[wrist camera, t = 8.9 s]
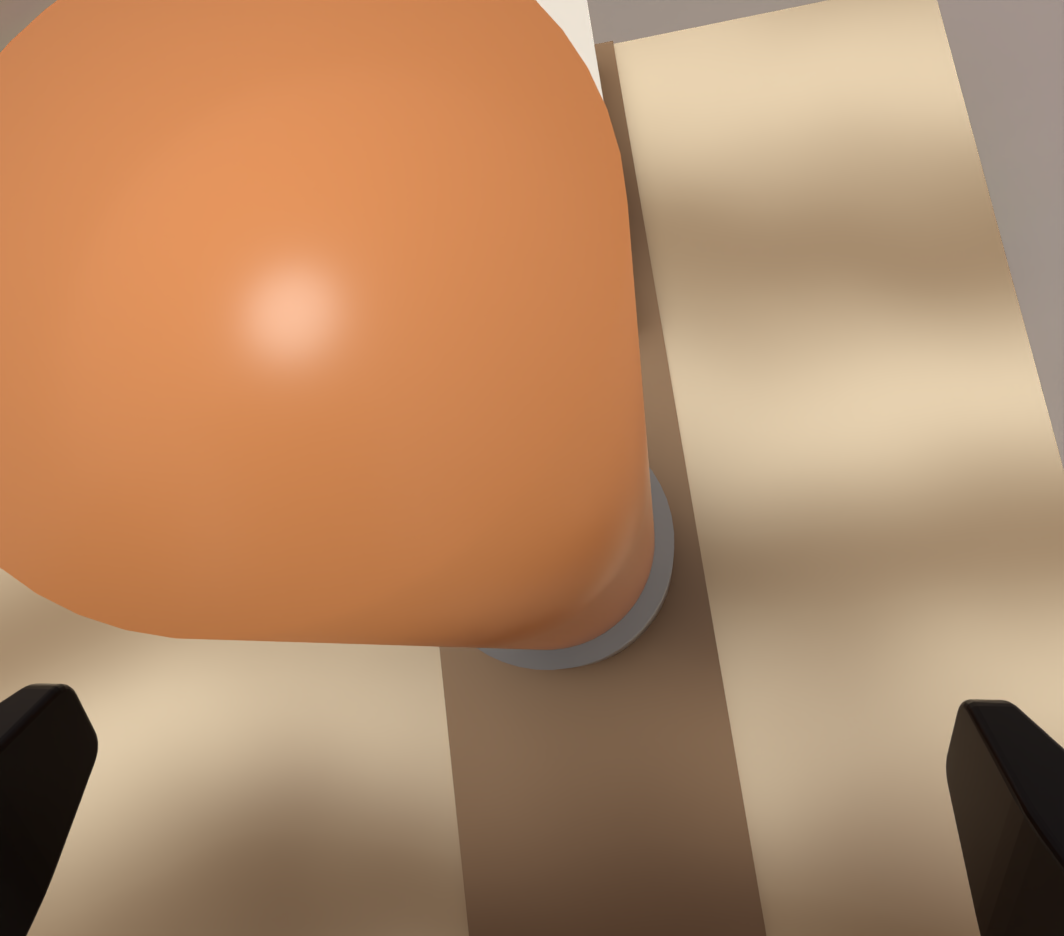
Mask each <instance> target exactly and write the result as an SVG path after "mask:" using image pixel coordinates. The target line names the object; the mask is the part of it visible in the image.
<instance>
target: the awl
mask: <svg viewBox="0 0 1064 936" xmlns="http://www.w3.org/2000/svg"><path fill="white" fill-rule="evenodd" d="M673 557H674V529H673V522H672V515H671V512H670V508H669V505H668V501H667V498H666V496H665V494H664V491H663V489H662V487H661V485H660V483H659V481H658V480H657V478H656V476H655V475H654V473H653V471H652V470H651V469H650V467H649V459H648V447H647V435H646V423H645V410H644V398H643V386H642V373H641V361H640V349H639V337H638V324H637V312H636V300H635V288H634V275H633V263H632V251H631V239H630V226H629V214H628V202H627V195H626V188H625V181H624V174H623V167H622V160H621V154H620V150H619V147H618V144H617V140H616V137H615V134H614V130H613V127H612V123H611V120H610V117H609V113H608V110H607V107H606V105H605V103H604V101H603V99H602V97H601V95H600V93H599V90H598V88H597V86H596V84H595V82H594V80H593V78H592V76H591V73H590V71H589V69H588V67H587V66H586V64H585V63H584V61H583V60H582V58H581V57H580V55H579V54H578V52H577V51H576V49H575V48H574V46H573V45H572V43H571V42H570V40H569V39H568V37H567V36H566V34H565V33H564V31H563V30H562V29H561V28H560V26H559V25H558V24H557V23H556V22H555V21H554V20H553V19H552V18H551V17H550V15H549V14H548V13H547V12H546V11H545V10H544V9H543V8H542V7H541V6H540V4H539V3H538V2H537V1H536V0H57V1H56V2H55V3H53V4H52V5H51V6H49V7H48V8H47V9H45V10H44V11H43V12H42V13H41V14H40V15H39V16H38V17H36V18H35V19H34V20H33V21H32V22H31V23H30V24H29V25H28V26H27V27H26V28H25V29H23V30H22V31H21V32H20V33H19V34H18V35H17V36H16V37H15V38H14V39H13V40H11V41H10V43H9V44H8V45H7V46H6V47H5V48H4V49H3V50H2V52H1V53H0V568H1V569H3V570H4V571H6V572H7V573H8V574H10V575H11V576H13V577H14V578H15V579H17V580H18V581H20V582H21V583H22V584H24V585H25V586H27V587H28V588H29V589H31V590H32V591H34V592H35V593H36V594H38V595H40V596H42V597H44V598H46V599H48V600H50V601H52V602H54V603H56V604H58V605H60V606H62V607H64V608H66V609H68V610H70V611H72V612H74V613H76V614H78V615H81V616H84V617H87V618H90V619H93V620H96V621H99V622H102V623H105V624H108V625H111V626H114V627H118V628H121V629H124V630H128V631H134V632H140V633H146V634H152V635H158V636H164V637H170V638H177V639H209V640H242V641H274V642H306V643H338V644H370V645H402V646H434V647H467V648H477V649H479V650H480V651H482V652H484V653H485V654H487V655H489V656H491V657H493V658H495V659H497V660H500V661H502V662H504V663H508V664H511V665H514V666H518V667H523V668H529V669H535V670H556V669H566V668H573V667H580V666H585V665H589V664H593V663H597V662H600V661H602V660H605V659H607V658H610V657H612V656H614V655H616V654H617V653H619V652H621V651H623V650H624V649H626V648H627V647H628V646H630V645H631V644H632V643H633V642H635V641H636V640H637V639H638V638H639V637H640V636H641V635H642V634H643V633H644V632H645V631H646V630H647V628H648V627H649V626H650V625H651V623H652V622H653V621H654V619H655V618H656V616H657V614H658V612H659V611H660V609H661V607H662V605H663V602H664V600H665V598H666V595H667V592H668V589H669V585H670V581H671V575H672V567H673Z"/></svg>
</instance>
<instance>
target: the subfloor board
mask: <svg viewBox="0 0 1064 936" xmlns="http://www.w3.org/2000/svg"><path fill="white" fill-rule="evenodd" d="M594 47H595V53H596V59H597V65H598V71H599V77H600V83H601V89H602V95H603V101H604V103H605V105H606V107H607V110H608V113H609V117H610V120H611V123H612V127H613V130H614V134H615V137H616V140H617V144H618V147H619V150H620V154H621V160H622V167H623V174H624V181H625V188H626V195H627V202H628V214H629V226H630V239H631V251H632V263H633V275H634V288H635V300H636V312H637V324H638V337H639V349H640V361H641V373H642V386H643V398H644V410H645V423H646V435H647V447H648V459H649V467H650V469H651V470H652V471H653V473H654V475H655V476H656V478H657V480H658V481H659V483H660V485H661V487H662V489H663V491H664V494H665V496H666V498H667V501H668V505H669V508H670V512H671V515H672V522H673V529H674V557H673V567H672V575H671V581H670V585H669V589H668V592H667V595H666V598H665V600H664V602H663V605H662V607H661V609H660V611H659V612H658V614H657V616H656V618H655V619H654V621H653V622H652V623H651V625H650V626H649V627H648V628H647V630H646V631H645V632H644V633H643V634H642V635H641V636H640V637H639V638H638V639H637V640H636V641H635V642H633V643H632V644H631V645H630V646H628V647H627V648H626V649H624V650H623V651H621V652H619V653H617V654H616V655H614V656H612V657H610V658H607V659H605V660H602V661H600V662H597V663H593V664H589V665H585V666H580V667H573V668H566V669H556V670H535V669H529V668H523V667H518V666H514V665H511V664H508V663H504V662H502V661H500V660H497V659H495V658H493V657H491V656H489V655H487V654H485V653H484V652H482V651H480V650H479V649H477V648H467V647H434V646H402V645H370V644H338V643H306V642H274V641H242V640H209V639H177V638H170V637H164V636H158V635H152V634H146V633H140V632H134V631H128V630H124V629H121V628H118V627H114V626H111V625H108V624H105V623H102V622H99V621H96V620H93V619H90V618H87V617H84V616H81V615H78V614H76V613H74V612H72V611H70V610H68V609H66V608H64V607H62V606H60V605H58V604H56V603H54V602H52V601H50V600H48V599H46V598H44V597H42V596H40V595H38V594H36V593H35V592H34V591H32V590H31V589H29V588H28V587H27V586H25V585H24V584H22V583H21V582H20V581H18V580H17V579H15V578H14V577H13V576H11V575H10V574H8V573H7V572H6V571H4V570H3V569H1V568H0V702H2V701H3V700H5V699H6V698H8V697H9V696H11V695H12V694H14V693H15V692H17V691H18V690H20V689H22V688H23V687H25V686H27V685H30V684H35V683H49V684H66V685H68V686H70V687H71V688H73V689H74V691H75V692H76V694H77V696H78V698H79V700H80V702H81V704H82V706H83V708H84V710H85V712H86V714H87V716H88V718H89V720H90V722H91V724H92V726H93V728H94V730H95V732H96V734H97V738H98V753H97V757H96V761H95V764H94V767H93V769H92V772H91V775H90V777H89V780H88V783H87V786H86V788H85V791H84V794H83V796H82V799H81V802H80V805H79V807H78V810H77V813H76V815H75V818H74V821H73V824H72V826H71V829H70V832H69V834H68V837H67V840H66V843H65V845H64V848H63V851H62V853H61V856H60V859H59V862H58V864H57V867H56V870H55V872H54V875H53V877H52V880H51V882H50V885H49V887H48V890H47V892H46V895H45V897H44V899H43V902H42V904H41V906H40V908H39V910H38V913H37V915H36V917H35V919H34V921H33V923H32V926H31V928H30V930H29V932H28V934H27V936H981V935H980V931H979V927H978V923H977V919H976V914H975V909H974V905H973V900H972V895H971V891H970V886H969V882H968V877H967V872H966V868H965V863H964V858H963V854H962V849H961V844H960V840H959V835H958V830H957V826H956V821H955V816H954V812H953V807H952V802H951V798H950V793H949V789H948V784H947V777H946V757H947V753H948V748H949V744H950V740H951V736H952V732H953V728H954V724H955V719H956V715H957V711H958V708H959V706H960V705H961V703H962V702H963V701H965V700H969V699H985V700H1006V701H1009V702H1011V703H1013V704H1014V705H1016V706H1017V707H1018V708H1019V709H1021V710H1022V711H1023V712H1024V713H1025V714H1026V715H1027V716H1028V717H1029V718H1031V719H1032V720H1033V721H1034V722H1035V723H1036V724H1037V725H1038V726H1039V727H1041V728H1042V729H1043V730H1044V731H1045V732H1046V733H1047V734H1048V735H1049V736H1051V737H1052V738H1053V739H1054V740H1055V741H1056V742H1057V743H1058V744H1059V745H1061V746H1062V747H1063V748H1064V470H1063V466H1062V462H1061V458H1060V455H1059V451H1058V447H1057V444H1056V440H1055V436H1054V433H1053V429H1052V425H1051V421H1050V418H1049V414H1048V410H1047V407H1046V403H1045V399H1044V395H1043V392H1042V388H1041V384H1040V381H1039V377H1038V373H1037V370H1036V366H1035V362H1034V358H1033V355H1032V351H1031V347H1030V344H1029V340H1028V336H1027V332H1026V329H1025V325H1024V321H1023V318H1022V314H1021V310H1020V307H1019V303H1018V299H1017V295H1016V292H1015V288H1014V284H1013V281H1012V277H1011V273H1010V269H1009V266H1008V262H1007V258H1006V255H1005V251H1004V247H1003V243H1002V240H1001V236H1000V232H999V229H998V225H997V221H996V218H995V214H994V210H993V206H992V203H991V199H990V195H989V192H988V188H987V184H986V180H985V177H984V173H983V169H982V166H981V162H980V158H979V155H978V151H977V147H976V143H975V140H974V136H973V132H972V129H971V125H970V121H969V117H968V114H967V110H966V106H965V103H964V99H963V95H962V92H961V88H960V84H959V80H958V77H957V73H956V69H955V66H954V62H953V58H952V54H951V51H950V47H949V43H948V40H947V36H946V32H945V28H944V25H943V21H942V17H941V14H940V10H939V6H938V3H937V0H828V1H823V2H818V3H813V4H808V5H803V6H798V7H793V8H788V9H783V10H778V11H773V12H769V13H764V14H759V15H754V16H749V17H744V18H739V19H734V20H729V21H724V22H719V23H714V24H710V25H705V26H700V27H695V28H690V29H685V30H680V31H675V32H670V33H665V34H660V35H655V36H651V37H646V38H641V39H636V40H631V41H626V42H621V43H616V44H613V41H610V42H605V43H600V44H595V45H594Z"/></svg>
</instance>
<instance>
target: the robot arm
mask: <svg viewBox="0 0 1064 936" xmlns="http://www.w3.org/2000/svg"><path fill="white" fill-rule="evenodd" d="M97 753H98V738H97V734H96V732H95V730H94V728H93V726H92V724H91V722H90V720H89V718H88V716H87V714H86V712H85V710H84V708H83V706H82V704H81V702H80V700H79V698H78V696H77V694H76V692H75V691H74V689H73V688H71V687H70V686H68V685H66V684H49V683H35V684H30V685H27V686H25V687H23V688H22V689H20V690H18V691H17V692H15V693H14V694H12V695H11V696H9V697H8V698H6V699H5V700H3V701H2V702H0V936H27V934H28V932H29V930H30V928H31V926H32V923H33V921H34V919H35V917H36V915H37V913H38V910H39V908H40V906H41V904H42V902H43V899H44V897H45V895H46V892H47V890H48V887H49V885H50V882H51V880H52V877H53V875H54V872H55V870H56V867H57V864H58V862H59V859H60V856H61V853H62V851H63V848H64V845H65V843H66V840H67V837H68V834H69V832H70V829H71V826H72V824H73V821H74V818H75V815H76V813H77V810H78V807H79V805H80V802H81V799H82V796H83V794H84V791H85V788H86V786H87V783H88V780H89V777H90V775H91V772H92V769H93V767H94V764H95V761H96V757H97ZM946 777H947V784H948V789H949V793H950V798H951V802H952V807H953V812H954V816H955V821H956V826H957V830H958V835H959V840H960V844H961V849H962V854H963V858H964V863H965V868H966V872H967V877H968V882H969V886H970V891H971V895H972V900H973V905H974V909H975V914H976V919H977V923H978V927H979V931H980V935H981V936H1064V748H1063V747H1062V746H1061V745H1059V744H1058V743H1057V742H1056V741H1055V740H1054V739H1053V738H1052V737H1051V736H1049V735H1048V734H1047V733H1046V732H1045V731H1044V730H1043V729H1042V728H1041V727H1039V726H1038V725H1037V724H1036V723H1035V722H1034V721H1033V720H1032V719H1031V718H1029V717H1028V716H1027V715H1026V714H1025V713H1024V712H1023V711H1022V710H1021V709H1019V708H1018V707H1017V706H1016V705H1014V704H1013V703H1011V702H1009V701H1006V700H985V699H969V700H965V701H963V702H962V703H961V705H960V706H959V708H958V711H957V715H956V719H955V724H954V728H953V732H952V736H951V740H950V744H949V748H948V753H947V757H946Z"/></svg>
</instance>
